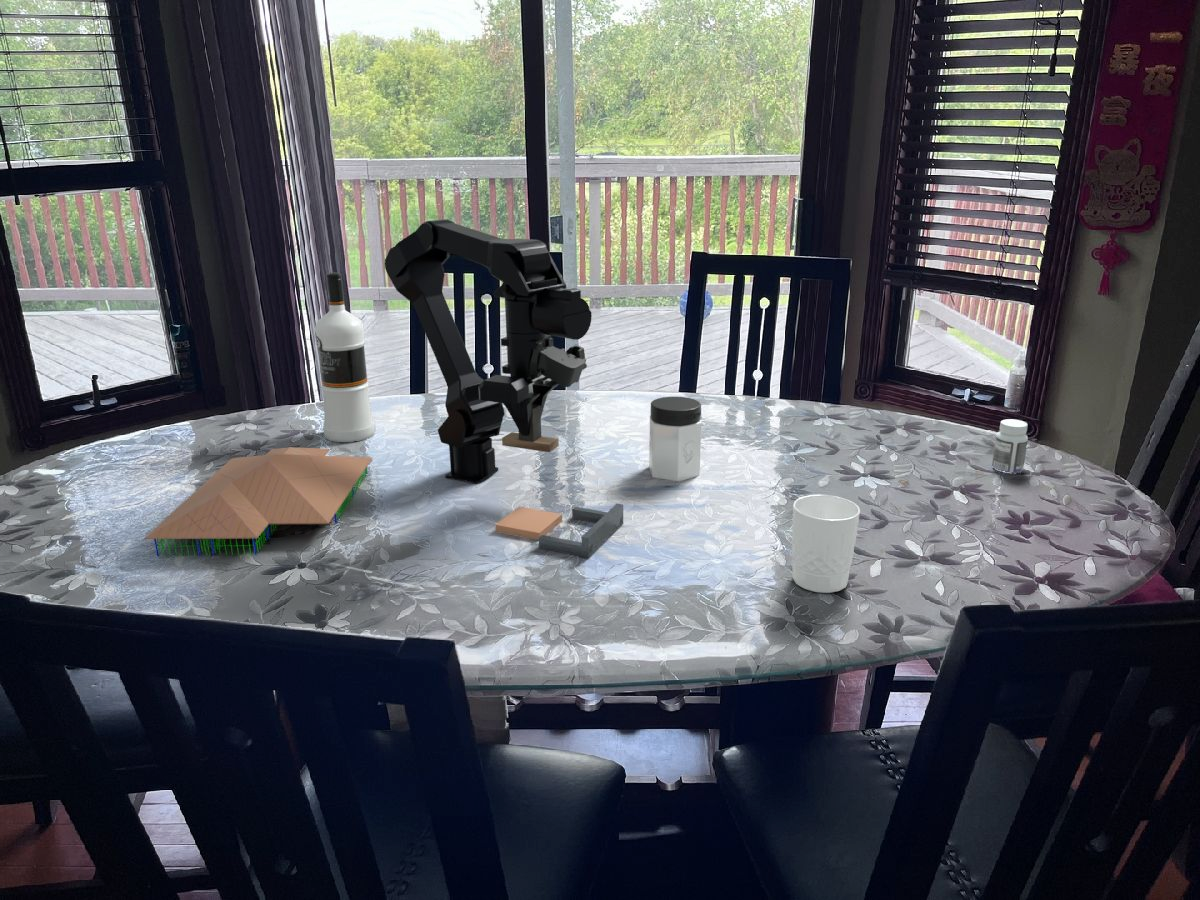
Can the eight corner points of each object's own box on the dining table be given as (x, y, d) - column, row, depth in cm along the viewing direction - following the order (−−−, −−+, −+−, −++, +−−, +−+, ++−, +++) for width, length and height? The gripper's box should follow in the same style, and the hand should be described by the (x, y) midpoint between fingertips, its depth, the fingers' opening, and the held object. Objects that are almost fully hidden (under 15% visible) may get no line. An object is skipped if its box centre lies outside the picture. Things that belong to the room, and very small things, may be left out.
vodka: (380, 440, 162) (364, 274, 152) (327, 447, 159) (308, 278, 148) (371, 426, 170) (356, 267, 160) (321, 432, 167) (302, 270, 156)
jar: (667, 486, 141) (669, 414, 137) (637, 470, 147) (638, 401, 143) (710, 474, 145) (713, 404, 141) (680, 460, 152) (682, 393, 148)
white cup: (780, 567, 115) (785, 495, 111) (840, 564, 115) (846, 493, 112) (798, 597, 107) (804, 521, 104) (862, 594, 108) (870, 518, 104)
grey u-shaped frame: (538, 548, 120) (537, 528, 119) (575, 515, 130) (575, 496, 129) (588, 558, 117) (588, 537, 116) (623, 523, 127) (623, 504, 126)
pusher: (549, 452, 132) (548, 412, 129) (502, 445, 135) (500, 406, 132) (558, 446, 134) (557, 406, 132) (512, 439, 137) (510, 400, 135)
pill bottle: (1016, 466, 148) (1024, 418, 145) (1026, 477, 144) (1034, 427, 141) (987, 465, 149) (994, 417, 146) (996, 476, 144) (1003, 426, 141)
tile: (495, 534, 125) (495, 524, 125) (519, 516, 131) (519, 506, 131) (539, 543, 123) (539, 533, 122) (562, 524, 129) (562, 514, 128)
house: (377, 470, 149) (373, 424, 146) (321, 559, 118) (314, 503, 115) (241, 470, 149) (234, 424, 146) (148, 560, 118) (137, 504, 115)
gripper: (546, 348, 117) (549, 459, 123) (603, 322, 133) (603, 421, 139) (473, 341, 122) (479, 449, 127) (537, 317, 138) (540, 413, 143)
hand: (529, 432), depth 134 cm, fingers closed on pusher, 2 cm apart
